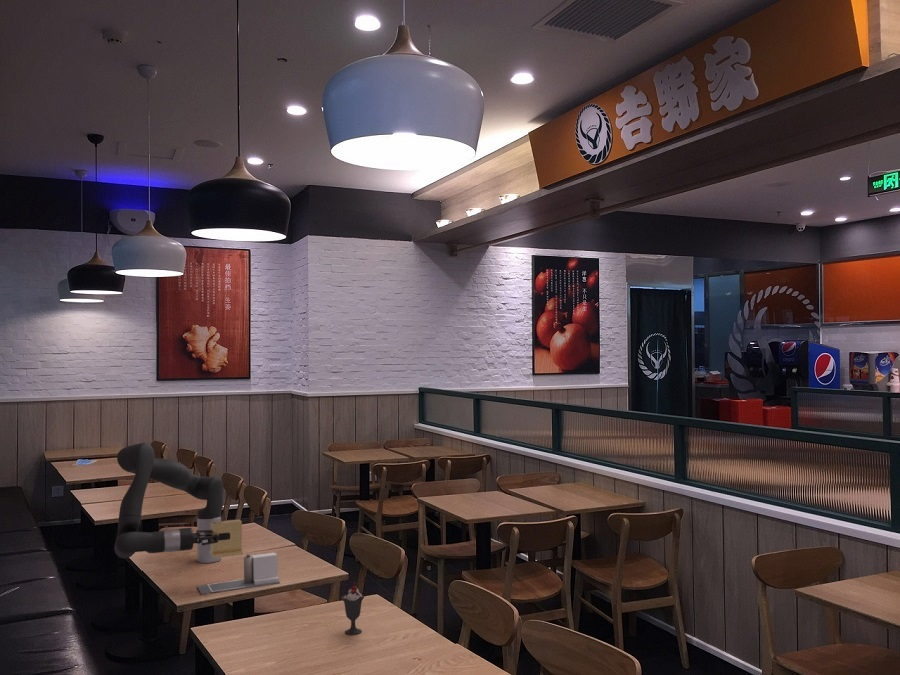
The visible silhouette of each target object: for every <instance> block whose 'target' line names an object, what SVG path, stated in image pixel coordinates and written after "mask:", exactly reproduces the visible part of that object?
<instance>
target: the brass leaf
mask: <svg viewBox="0 0 900 675" xmlns="http://www.w3.org/2000/svg"><path fill="white" fill-rule="evenodd" d="M242 525H243V521H242V520H241V519H229V520H221V521H218V522H211V533H212V534H222V533H230V539H228V540H219V541H218V543H213V544H211V549H210V554H211V555H212V557H213V558H218V557H221V558H224V557H226V558H227V557H234V556H242V555H243V556H244V551H243V550H242V549H243V544H242V543H243V537H242V536H243V530H242ZM212 539H213V540H214V538H212Z"/></svg>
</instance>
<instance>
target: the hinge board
mask: <svg viewBox="0 0 900 675" xmlns="http://www.w3.org/2000/svg"><path fill="white" fill-rule="evenodd" d="M269 584H271V585H278V584H281V582H280V578H279V576H278V554H277V553H276V552H269V553H268V552H267V553H260V554H253V555H251V554H250V553H247V554H246V555H245V556H244V557H243V578H242V579H235V580H230V581H221V582H216V583H215V582H214V583H209V584H201V585H197V586H196V588H197V589H199V590H198V591H200V592H199V593H200V595H201V594H204V595H208V594H207V593H210V594H214V593H213V592H217V593H221V592H220V591H224V592H229V591H230V590H231V591H236V590H243V589H250V588H257V586H258V587H263V586H262V585H264V586H269Z"/></svg>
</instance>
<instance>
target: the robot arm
mask: <svg viewBox="0 0 900 675" xmlns="http://www.w3.org/2000/svg"><path fill="white" fill-rule="evenodd" d="M155 456H156V455H155V450H154V448H153V446H152V445H151V444H150V443H148V442H141V443H136V444H132V445H128V446H125V447H123V448H121V449H120V450H119V451H118V453H117V455H116V460H117V461H116V462H117V464H118V465H119V467H120V468H121V469H122V470H123V471H125V472H126V473H131V474H134V477H133V480H132V482H131V483H130V486H129V487H128V488H127V490H126V493H125V494H124V496H123V498H122V500H121V502H120V506H119V513H118V522H117V523H118V524H117V525H118V526H117V533H116V537H115V543H114V552H115V554H116V555H117V557H118V558H120V559H128V558H129V559H130V557H133V555H135V553H142V552H146V553H148V554H157V553H173V552H175V553H176V552H182V551H183V552H184V551H192V550H193V548H194V544H196V546H197V547H196V549H197V551H196V552H197V553H196V554H197V555H196V557H197V560H196V561H197V562H198V563H202V564H210V563H211V564H212V563H216V562H218V561H221V560H222V557H218V558H213V557H212V555H211V554H210V549H211V544H213V543H218V541H219V540H228V539H230V533H222V534H212V533H211V522H218V521H222V510H223V506H224V484H223V481H222V479H221V478H220V477H218V476H206V475H205V476H200V475H197V474H196V475H195V474H193V473H190V470H189V468H188V467H187V466H185V465H184V464H182V463H180V462H179V461H178V462H177V461H176V460H173V459H167V458H159V457H158V458H156V457H155ZM150 479H151V480H153V481H156V482H158V483H160V484H162V485H165V486H168V487H170V488H173V489H176V490H180V491H184V492H186V493H187V494H188V495H190V496H191V497H193V498H196V499H197V500H201V501H206V506H205V507H203V508H201V509H198V510H197V512H196V526H197V527H196V528H197V530H196V532H194V530H193V528H192V527H183V528H173V529H169V530H168V529H167V530H159V531H152V532H147V531H146V532H145V531H139V527H140V524H141V520H142V510H143V504H144V498H145V496H146V495H145V494H146V490H147V487H148V484H149V481H150ZM212 538H214V540H213V539H212Z"/></svg>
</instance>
